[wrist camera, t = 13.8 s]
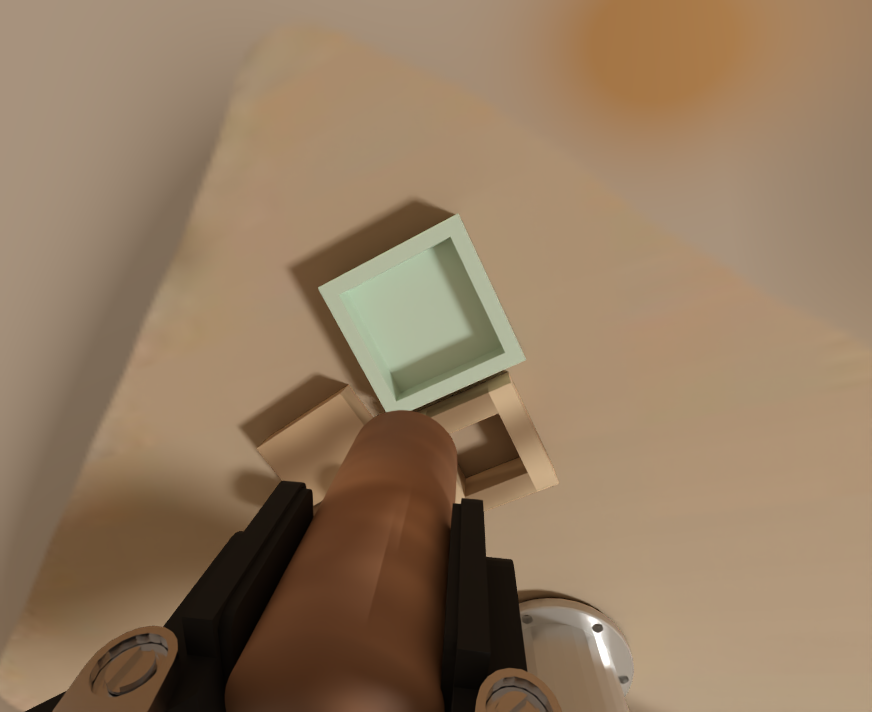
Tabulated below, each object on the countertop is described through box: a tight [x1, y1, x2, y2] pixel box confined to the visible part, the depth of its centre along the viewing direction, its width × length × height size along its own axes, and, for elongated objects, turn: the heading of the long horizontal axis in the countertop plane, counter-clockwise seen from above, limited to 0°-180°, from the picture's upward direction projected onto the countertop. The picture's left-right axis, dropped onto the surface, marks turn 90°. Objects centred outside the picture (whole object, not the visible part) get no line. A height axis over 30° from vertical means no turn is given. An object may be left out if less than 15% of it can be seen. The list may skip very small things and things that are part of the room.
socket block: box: [418, 372, 559, 512], centre depth 30 cm, size 8×8×2 cm
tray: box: [318, 214, 526, 412], centre depth 28 cm, size 10×10×2 cm
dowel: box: [225, 410, 457, 712], centre depth 11 cm, size 4×4×8 cm
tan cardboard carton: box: [256, 385, 373, 506], centre depth 32 cm, size 6×8×2 cm
